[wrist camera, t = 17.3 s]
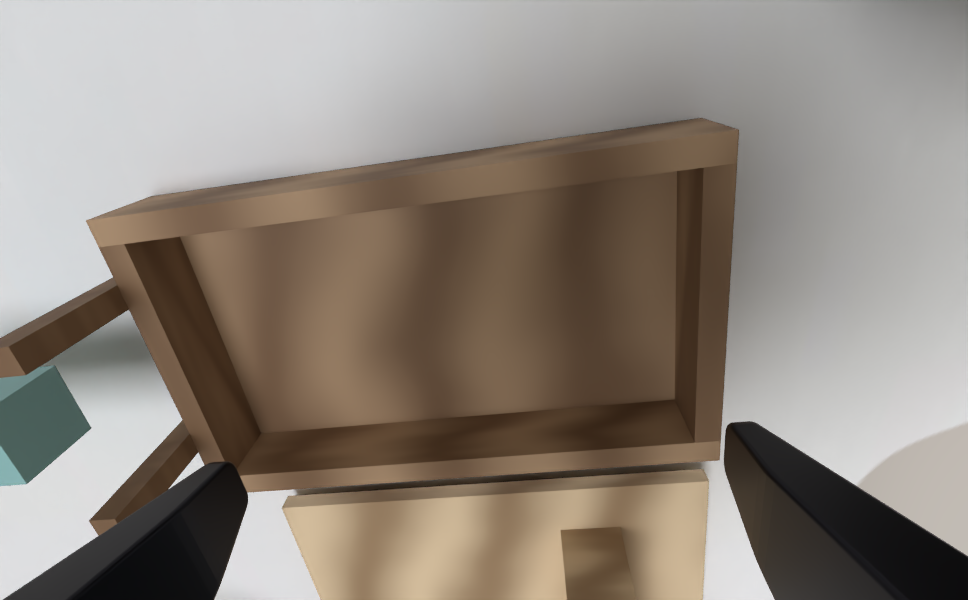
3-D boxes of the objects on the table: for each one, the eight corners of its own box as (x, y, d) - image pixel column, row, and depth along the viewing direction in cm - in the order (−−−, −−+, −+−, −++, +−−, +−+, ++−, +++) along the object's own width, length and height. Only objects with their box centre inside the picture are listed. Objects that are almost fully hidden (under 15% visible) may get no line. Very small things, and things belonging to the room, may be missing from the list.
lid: (696, 454, 26) (742, 555, 20) (690, 612, 31) (725, 725, 26) (295, 482, 28) (244, 579, 23) (351, 624, 33) (321, 729, 28)
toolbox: (701, 118, 19) (818, 154, 11) (692, 407, 24) (768, 557, 17) (128, 199, 21) (-73, 271, 14) (236, 443, 27) (131, 587, 19)
